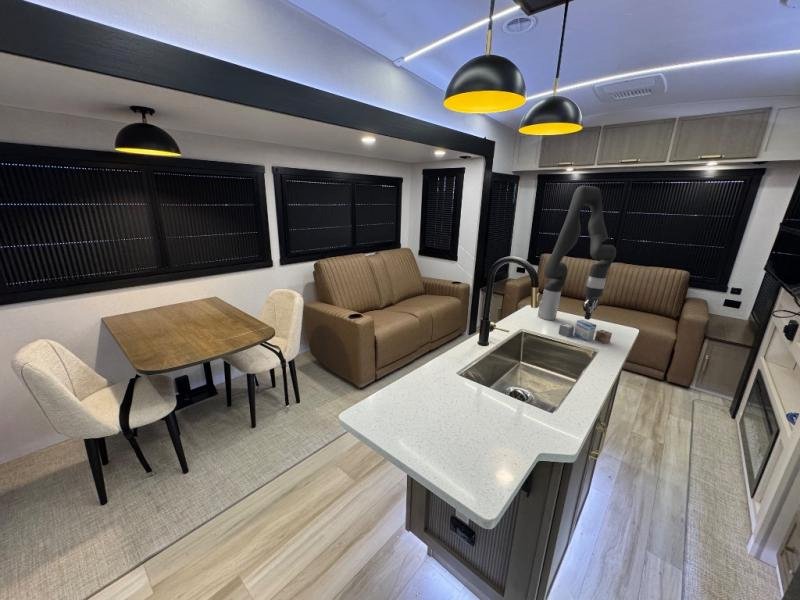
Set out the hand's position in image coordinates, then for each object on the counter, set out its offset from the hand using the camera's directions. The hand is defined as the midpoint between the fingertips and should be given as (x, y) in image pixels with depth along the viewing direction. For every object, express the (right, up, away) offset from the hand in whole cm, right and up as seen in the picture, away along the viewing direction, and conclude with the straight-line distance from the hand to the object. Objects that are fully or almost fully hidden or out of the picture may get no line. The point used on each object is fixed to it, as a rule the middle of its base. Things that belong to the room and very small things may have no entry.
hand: (587, 319), depth 161 cm
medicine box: (0, -10, +3) cm, 11 cm away
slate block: (-8, -9, +6) cm, 13 cm away
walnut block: (+8, -11, 0) cm, 14 cm away
